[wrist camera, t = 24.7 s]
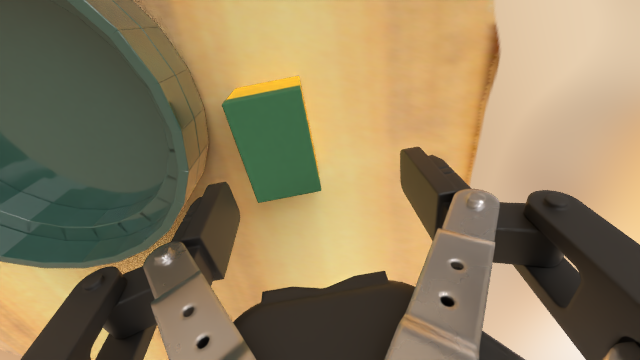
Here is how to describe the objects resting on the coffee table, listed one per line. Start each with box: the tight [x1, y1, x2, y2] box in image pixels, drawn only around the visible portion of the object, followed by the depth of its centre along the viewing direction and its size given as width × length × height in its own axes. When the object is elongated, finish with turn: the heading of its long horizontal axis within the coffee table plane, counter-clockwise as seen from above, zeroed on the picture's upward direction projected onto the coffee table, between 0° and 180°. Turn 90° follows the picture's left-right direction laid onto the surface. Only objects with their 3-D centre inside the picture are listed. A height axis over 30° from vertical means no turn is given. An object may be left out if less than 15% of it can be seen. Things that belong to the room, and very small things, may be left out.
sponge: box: [222, 76, 321, 203], centre depth 18 cm, size 7×4×4 cm, turn 10°
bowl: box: [0, 0, 209, 268], centre depth 16 cm, size 19×19×5 cm
